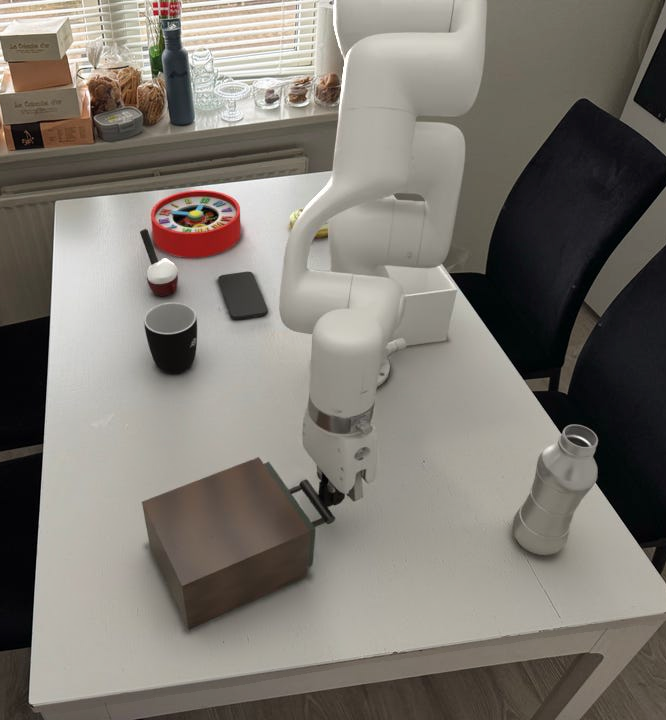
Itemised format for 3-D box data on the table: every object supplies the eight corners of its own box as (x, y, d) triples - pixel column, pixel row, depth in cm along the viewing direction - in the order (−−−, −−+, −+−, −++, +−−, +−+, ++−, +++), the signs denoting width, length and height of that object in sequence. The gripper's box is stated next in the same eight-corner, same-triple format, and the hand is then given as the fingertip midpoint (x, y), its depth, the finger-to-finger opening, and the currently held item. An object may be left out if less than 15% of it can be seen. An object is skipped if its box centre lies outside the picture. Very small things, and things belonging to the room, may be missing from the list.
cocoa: (183, 300, 137) (178, 248, 130) (152, 305, 137) (145, 253, 129) (173, 274, 145) (168, 224, 137) (144, 280, 144) (137, 229, 136)
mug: (199, 379, 119) (195, 333, 113) (148, 380, 120) (141, 334, 113) (201, 336, 128) (197, 291, 122) (153, 337, 129) (147, 293, 122)
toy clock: (226, 238, 143) (137, 228, 149) (227, 262, 147) (140, 252, 152) (250, 194, 157) (167, 187, 163) (250, 216, 161) (170, 209, 167)
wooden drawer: (297, 486, 99) (299, 449, 94) (344, 551, 90) (349, 514, 85) (166, 539, 93) (161, 502, 88) (203, 613, 85) (199, 578, 80)
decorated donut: (289, 217, 160) (289, 202, 157) (336, 216, 158) (337, 201, 156) (289, 240, 152) (290, 225, 149) (339, 240, 151) (340, 224, 148)
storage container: (446, 340, 123) (457, 289, 115) (386, 348, 122) (393, 297, 115) (397, 265, 142) (404, 218, 134) (344, 272, 141) (349, 225, 134)
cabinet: (259, 502, 98) (258, 456, 92) (307, 576, 89) (310, 531, 82) (149, 546, 94) (141, 501, 88) (188, 629, 84) (181, 586, 78)
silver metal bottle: (548, 517, 93) (594, 412, 80) (571, 560, 88) (624, 456, 75) (500, 520, 93) (539, 416, 80) (520, 564, 88) (565, 460, 75)
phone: (252, 270, 142) (269, 311, 131) (252, 273, 143) (269, 315, 131) (216, 275, 142) (231, 317, 130) (217, 279, 142) (231, 321, 131)
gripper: (407, 434, 77) (388, 530, 89) (331, 357, 87) (323, 452, 99) (351, 460, 75) (340, 554, 87) (280, 378, 85) (278, 472, 97)
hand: (331, 499), depth 93 cm, fingers closed
